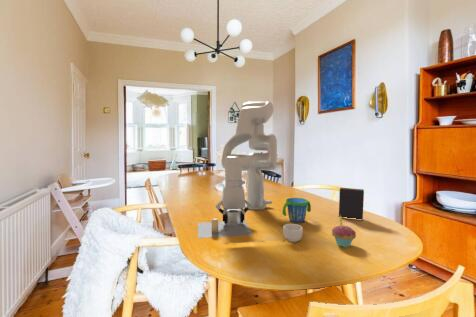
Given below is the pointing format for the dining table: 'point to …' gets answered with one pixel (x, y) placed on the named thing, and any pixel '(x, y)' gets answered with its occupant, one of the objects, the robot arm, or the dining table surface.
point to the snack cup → (296, 209)
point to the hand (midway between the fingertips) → (233, 222)
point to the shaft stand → (221, 229)
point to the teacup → (292, 232)
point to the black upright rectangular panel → (351, 203)
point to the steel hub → (233, 217)
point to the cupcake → (343, 234)
